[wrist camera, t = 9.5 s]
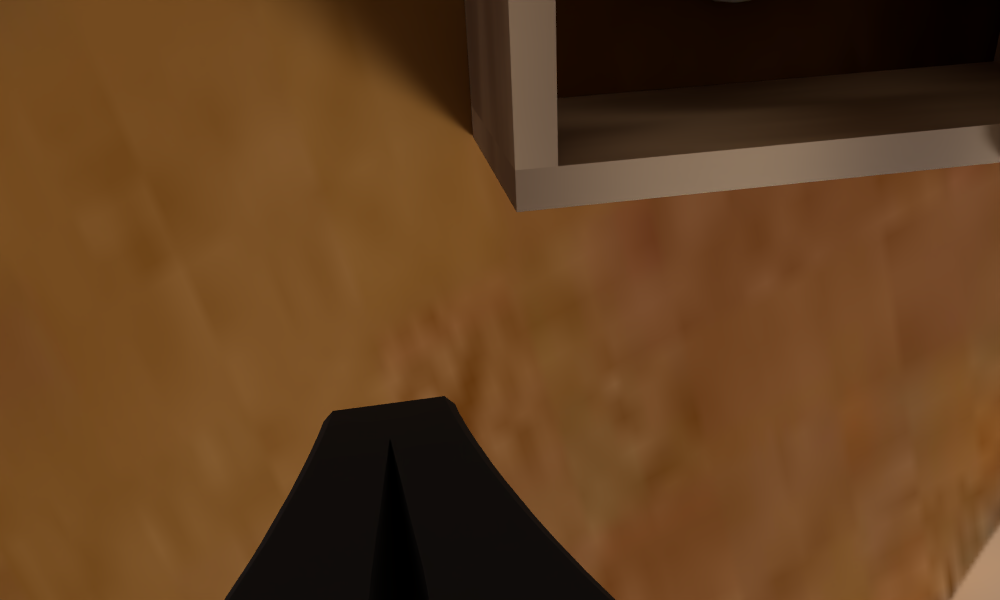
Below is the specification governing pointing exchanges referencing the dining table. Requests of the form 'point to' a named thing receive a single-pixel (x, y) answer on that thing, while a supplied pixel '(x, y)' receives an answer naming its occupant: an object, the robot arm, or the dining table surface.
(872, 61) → the dining table surface
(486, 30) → the walnut box
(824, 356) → the dining table surface
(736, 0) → the pastry
